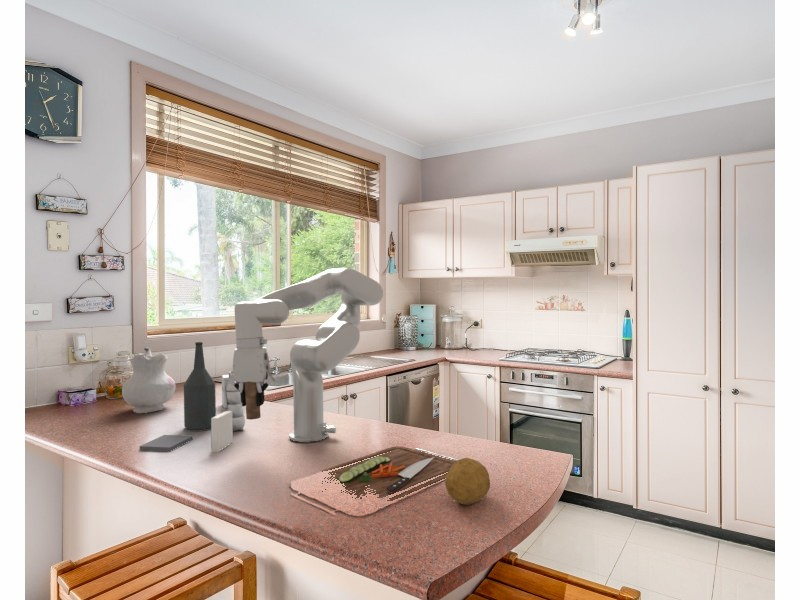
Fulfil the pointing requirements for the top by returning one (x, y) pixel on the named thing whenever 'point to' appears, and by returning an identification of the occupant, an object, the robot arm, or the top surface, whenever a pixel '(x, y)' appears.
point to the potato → (467, 481)
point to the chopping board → (391, 471)
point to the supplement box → (224, 381)
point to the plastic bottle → (234, 405)
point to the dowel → (251, 401)
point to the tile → (221, 430)
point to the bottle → (199, 395)
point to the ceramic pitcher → (148, 383)
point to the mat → (166, 443)
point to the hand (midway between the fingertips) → (252, 404)
